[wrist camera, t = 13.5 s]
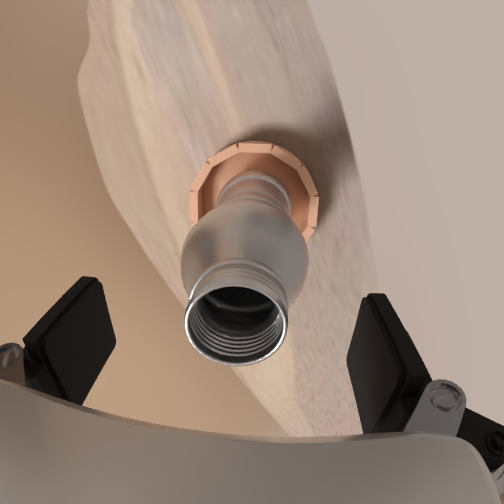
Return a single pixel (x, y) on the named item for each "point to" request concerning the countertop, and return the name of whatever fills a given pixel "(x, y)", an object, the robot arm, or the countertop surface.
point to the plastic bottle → (243, 271)
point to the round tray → (256, 158)
